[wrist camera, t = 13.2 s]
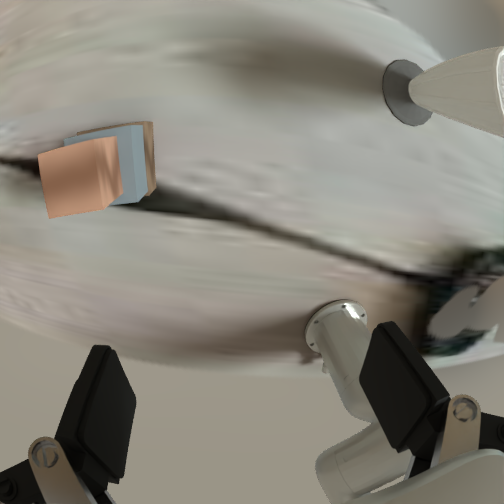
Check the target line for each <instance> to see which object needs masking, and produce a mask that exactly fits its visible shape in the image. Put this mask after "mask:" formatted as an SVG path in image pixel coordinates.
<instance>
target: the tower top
mask: <svg viewBox="0 0 504 504" xmlns="http://www.w3.org/2000/svg"><path fill="white" fill-rule="evenodd" d="M112 136H117V145H118V155H119V164H120V172H121V179H122V187H123V194H122V195H120V196H119V197H118V198H117V199H115V200H114V201H113V202H112V203H111V204H109V205H116V204H125V203H133V202H138V201H139V200H140V199H141V198H142V197H143V196H144V195H145V194H146V193H147V192H148V186H147V177H146V166H145V153H144V139H143V125H128V126H122V127H117V128H111V129H106V130H101V131H96V132H92V133H87V134H83V135H78V136H74V137H70V138H66V139H64V147H65V146H68V145H72V144H76V143H80V142H84V141H88V140H92V139H98V138H105V137H112Z"/></svg>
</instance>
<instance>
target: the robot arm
mask: <svg viewBox="0 0 504 504" xmlns="http://www.w3.org/2000/svg"><path fill="white" fill-rule="evenodd" d="M366 324H367V314H366V311H365V310H364V308H363V307H362V306H361V305H360V304H359V303H357V302H355V301H352V300H340V301H336V302H333V303H330V304H328V305H326V306H325V307H323V308H321V309H320V310H319V311H318V312H316V313H315V314H314V315H313V316H312V318H311V319H310V321H309V322H308V324H307V326H306V330H305V339H306V342H307V344H308V346H309V347H310V349H312V350H313V351H315V352H317V353H321V355H322V358H323V361H324V363H323V367H322V372H323V373H326V374H327V373H330V375H331V378H332V380H333V382H334V384H335V387H336V389H337V391H338V393H339V396H340V398H341V400H342V402H343V405H344V407H345V408H346V410H347V411H348V412H349V413H350V414H351V415H352V416H354V417H356V418H358V419H360V420H363V421H367V422H370V423H371V424H370V425H369V426H368V427H366V428H365V429H363V430H362V431H361V432H359V433H357V434H355V435H353V436H351V437H350V438H348V439H346V440H344V441H342V442H340V443H338V444H336V445H334V446H332V447H330V448H328V449H327V450H325V451H323V453H321V454H320V455H319V456H318V458H317V460H316V463H315V470H316V474H317V478H318V480H319V482H320V485H321V487H322V489H323V490H324V492H325V494H326V496H327V498H328V499H329V501H330V503H331V504H504V417H499V416H495V415H491V414H487V413H483V412H481V409H480V406H479V404H478V402H477V401H476V400H475V399H474V398H472V397H471V396H468V395H463V394H461V395H457V396H455V397H453V398H452V399H451V398H450V397H449V396H450V395H449V393H448V392H447V390H446V389H445V387H444V386H443V385H442V383H441V382H440V380H439V379H438V378H437V376H436V375H435V374H434V372H433V371H432V370H431V368H430V367H429V366H428V364H427V363H426V362H425V360H424V359H423V358H422V356H421V355H420V354H419V352H418V351H417V350H416V349H415V347H414V346H413V345H412V344H411V342H410V341H409V340H408V338H407V337H406V336H405V335H404V333H403V332H402V331H401V330H400V328H399V327H398V326H397V325H396V323H394V322H393V321H390V322H385V323H380V324H378V325H377V327H376V328H375V329H374V330H373V333H372V334H371V333H370V331H369V330H368V328H367V327H366ZM135 408H136V397H135V394H134V392H133V390H132V388H131V386H130V384H129V381H128V379H127V377H126V375H125V373H124V370H123V368H122V366H121V363H120V361H119V358H118V356H117V354H116V351H115V350H112V349H111V347H110V346H108V345H94V346H93V347H92V349H91V351H90V353H89V355H88V358H87V360H86V362H85V365H84V367H83V369H82V371H81V374H80V376H79V378H78V380H77V381H76V382H75V384H74V387H73V389H72V392H71V394H70V397H69V399H68V402H67V404H66V407H65V409H64V412H63V415H62V418H61V420H60V423H59V426H58V429H57V432H56V435H55V438H54V439H53V438H51V437H40V438H38V439H36V440H35V441H34V442H33V443H32V444H31V445H30V448H29V450H28V458H29V459H27V460H25V461H23V462H21V463H19V464H17V465H15V466H13V467H11V468H9V469H6V470H4V471H2V472H0V504H116V503H115V501H114V500H113V498H112V497H111V495H110V494H109V492H108V491H107V486H108V482H111V483H115V484H119V479H120V478H123V476H124V472H125V465H126V458H127V452H128V446H129V439H130V434H131V429H132V423H133V418H134V413H135ZM404 474H405V477H404V480H403V481H401V482H399V483H397V484H395V485H393V486H390V487H388V488H385V489H383V490H380V491H378V492H375V493H370V491H372V490H375V489H377V488H379V487H381V486H383V485H385V484H386V483H389V482H391V481H393V480H395V479H397V478H399V477H401V476H402V475H404Z"/></svg>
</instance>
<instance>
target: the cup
mask: <svg viewBox="0 0 504 504" xmlns="http://www.w3.org/2000/svg"><path fill="white" fill-rule="evenodd" d="M383 92H384V95H385V99H386V102H387V104H388V106H389V108H390V109H391V111H392V112H393V114H394V115H395V116H396V117H397V118H398V119H399V120H401V121H402V122H403V123H405V124H408V125H412V126H418V125H422V124H424V123H425V122H426V121H427V120H428V119H429V118H430V117H431V115H432V112H434V113H437V114H439V115H442V116H444V117H447V118H449V119H452V120H455V121H458V122H461V123H463V124H466V125H469V126H471V127H474V128H477V129H480V130H483V131H486V132H489V133H491V134H494V135H497V136H500V137H503V138H504V47H503V46H499V47H494V48H489V49H484V50H479V51H476V52H472V53H468V54H464V55H462V56H458V57H456V58H453V59H451V60H448V61H445V62H442V63H440V64H438V65H436V66H434V67H432V68H430V69H428V70H426V71H423V70H422V69H421V68H420V67H419V66H418V65H417V64H415V63H413V62H410V61H408V60H396V61H395V62H393V63H392V64H391V65H389V66H388V68H387V70H386V72H385V74H384V77H383Z"/></svg>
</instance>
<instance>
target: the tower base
mask: <svg viewBox="0 0 504 504" xmlns="http://www.w3.org/2000/svg"><path fill="white" fill-rule="evenodd" d="M128 125H143V139H144V153H145V166H146V177H147V186H148V192H147V193H146V194H145V195H144V196H149V195H150V194H151V193H152V192H153V190H154V189H155V188H156V177H155V161H154V141H153V122H147V121H143V122H135V123H128V124H121V125H115V126H109V127H103V128H98V129H93V130H87V131H83V132H78V133H77V136H78V135H83V134H87V133H92V132H96V131H101V130H106V129H111V128H117V127H122V126H128Z"/></svg>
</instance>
